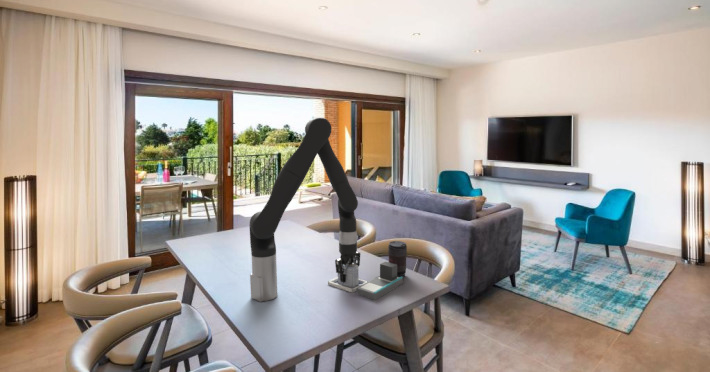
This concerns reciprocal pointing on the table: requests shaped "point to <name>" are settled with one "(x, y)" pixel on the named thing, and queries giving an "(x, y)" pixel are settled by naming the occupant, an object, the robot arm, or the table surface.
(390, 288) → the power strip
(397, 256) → the camera lens
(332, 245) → the table surface
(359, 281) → the tray frame
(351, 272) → the medicine box
